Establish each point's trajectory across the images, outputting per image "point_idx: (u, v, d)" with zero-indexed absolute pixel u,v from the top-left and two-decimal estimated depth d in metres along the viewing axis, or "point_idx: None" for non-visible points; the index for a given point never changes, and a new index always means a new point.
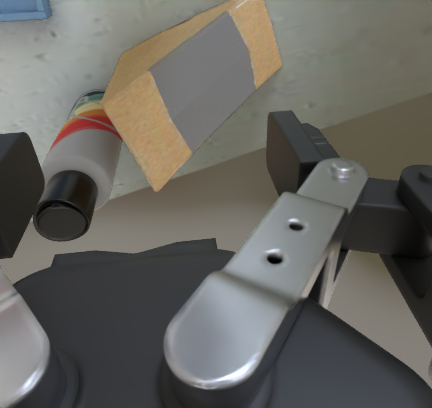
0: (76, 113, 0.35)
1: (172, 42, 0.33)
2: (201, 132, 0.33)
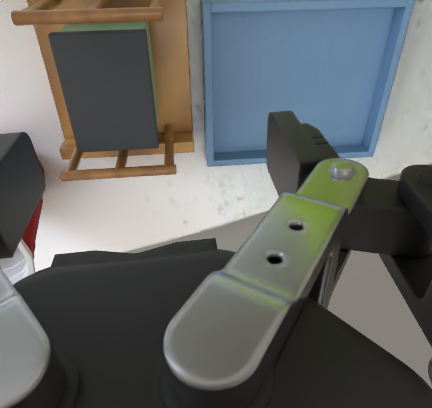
0: None
1: None
2: None
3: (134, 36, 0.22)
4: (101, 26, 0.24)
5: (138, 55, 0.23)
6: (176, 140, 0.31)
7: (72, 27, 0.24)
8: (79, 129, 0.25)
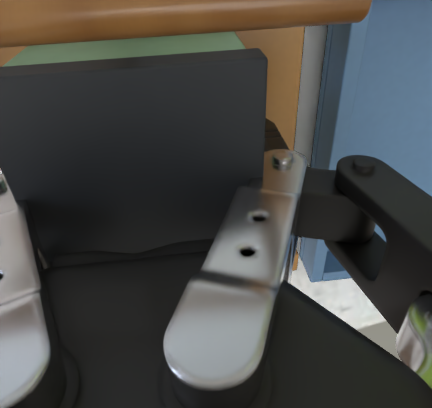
0: None
1: None
2: None
3: (232, 73, 0.07)
4: (124, 42, 0.09)
5: (238, 127, 0.08)
6: None
7: (48, 48, 0.09)
8: None
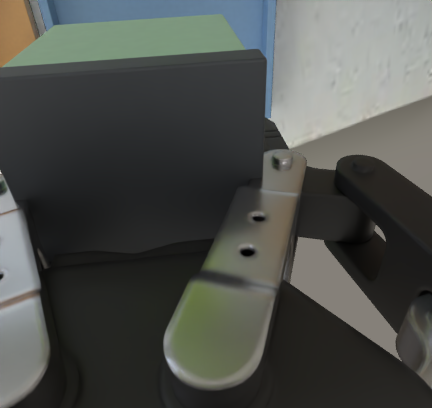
0: None
1: None
2: None
3: (232, 74, 0.07)
4: (123, 42, 0.09)
5: (237, 127, 0.08)
6: None
7: (47, 48, 0.09)
8: None
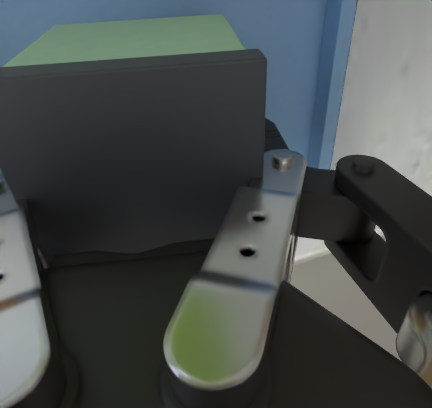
0: None
1: None
2: None
3: (232, 74, 0.07)
4: (124, 42, 0.09)
5: (237, 127, 0.08)
6: None
7: (48, 48, 0.09)
8: None
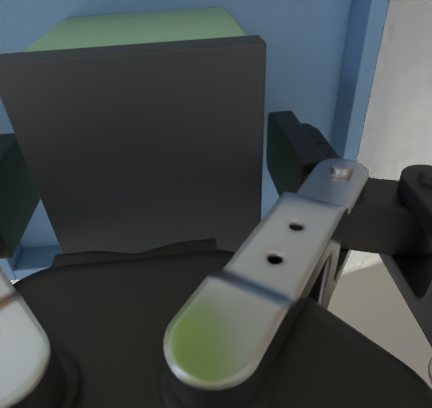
0: None
1: None
2: None
3: (234, 57, 0.08)
4: (132, 32, 0.10)
5: (239, 108, 0.08)
6: None
7: (62, 37, 0.10)
8: None
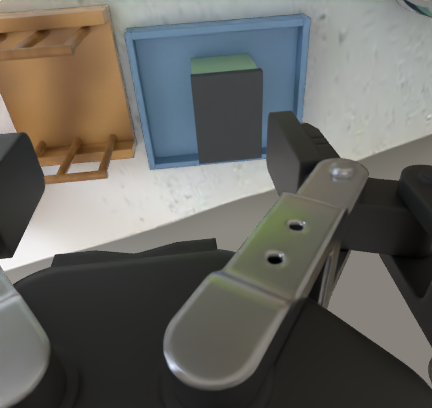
0: None
1: None
2: None
3: (254, 74, 0.29)
4: (221, 65, 0.31)
5: (255, 89, 0.30)
6: (117, 148, 0.36)
7: (199, 67, 0.31)
8: (203, 146, 0.32)
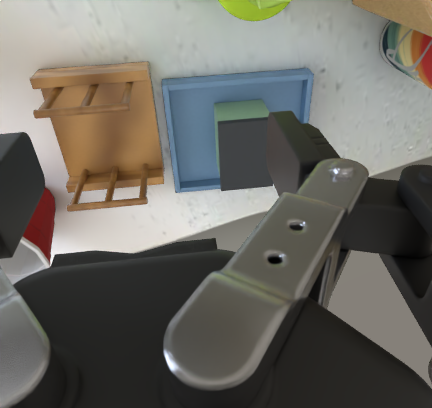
0: (410, 64, 0.34)
1: None
2: None
3: None
4: (241, 112, 0.38)
5: None
6: (150, 175, 0.43)
7: (223, 113, 0.38)
8: (225, 176, 0.39)
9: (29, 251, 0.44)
